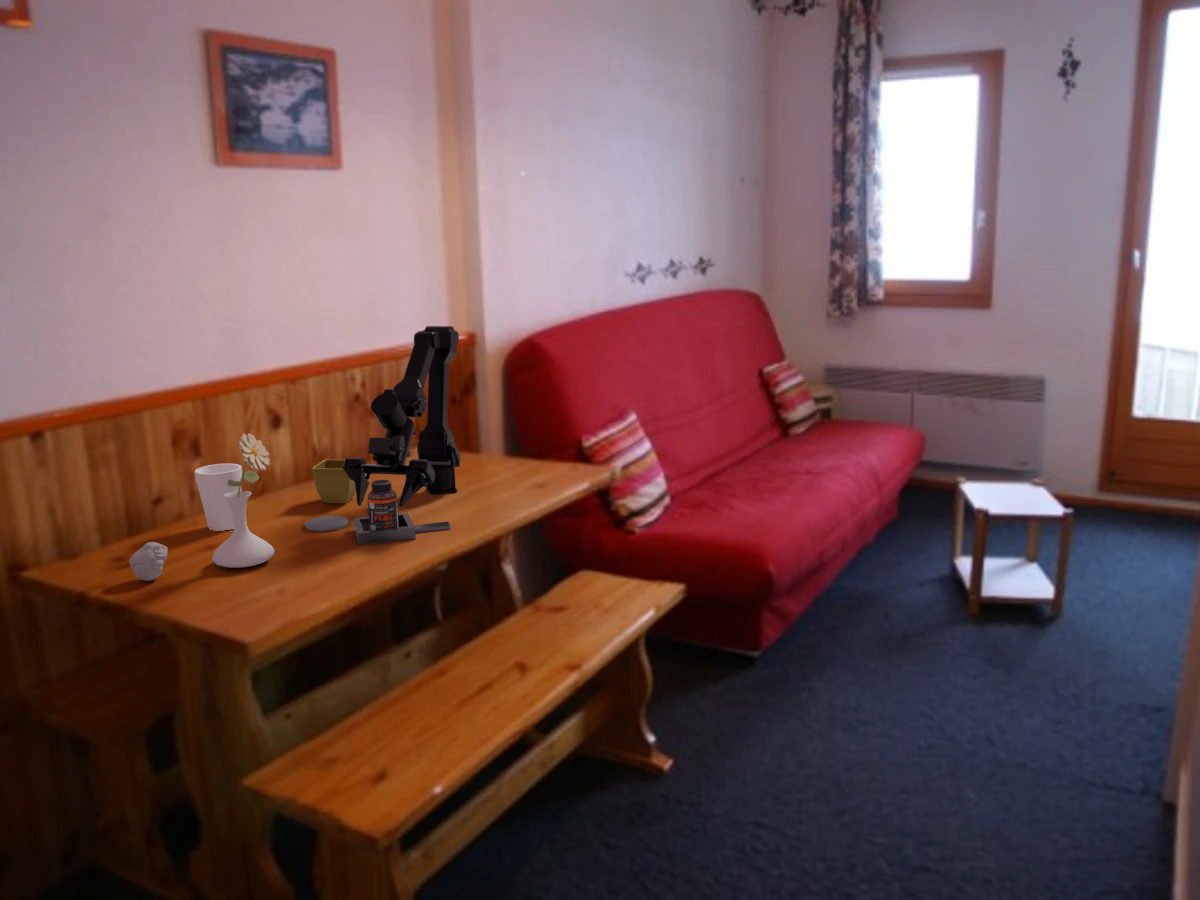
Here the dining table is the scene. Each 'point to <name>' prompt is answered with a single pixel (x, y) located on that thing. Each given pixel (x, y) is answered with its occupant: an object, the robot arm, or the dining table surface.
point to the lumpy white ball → (149, 561)
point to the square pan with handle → (393, 530)
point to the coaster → (326, 523)
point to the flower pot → (333, 482)
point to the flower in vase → (244, 514)
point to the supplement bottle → (382, 506)
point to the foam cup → (217, 493)
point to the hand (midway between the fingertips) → (379, 505)
